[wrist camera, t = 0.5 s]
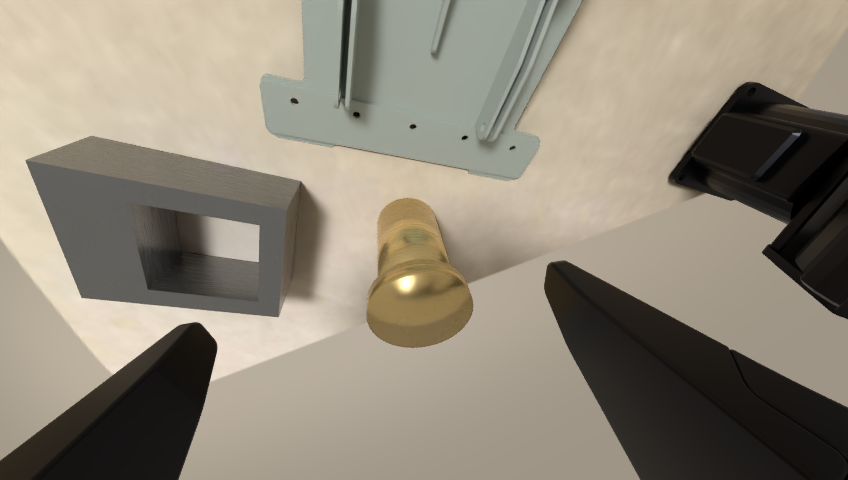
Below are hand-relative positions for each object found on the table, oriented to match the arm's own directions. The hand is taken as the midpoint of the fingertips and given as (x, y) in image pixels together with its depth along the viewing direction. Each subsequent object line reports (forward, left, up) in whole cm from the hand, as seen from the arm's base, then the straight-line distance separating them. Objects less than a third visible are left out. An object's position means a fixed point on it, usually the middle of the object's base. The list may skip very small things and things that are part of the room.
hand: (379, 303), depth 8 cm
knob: (-3, +4, -12) cm, 13 cm away
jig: (+8, +7, -12) cm, 16 cm away
